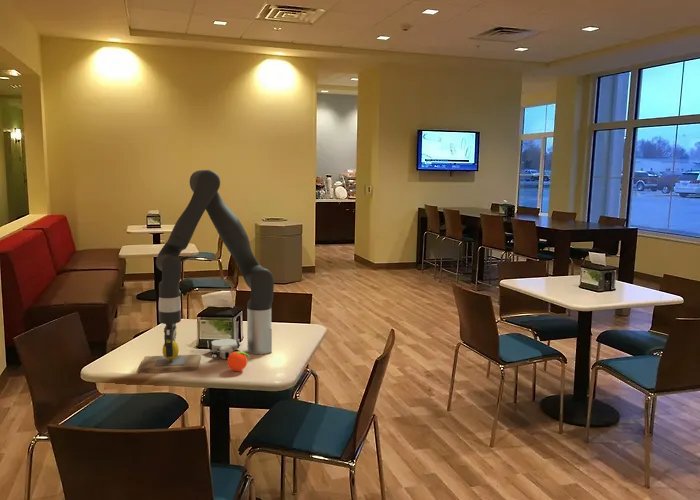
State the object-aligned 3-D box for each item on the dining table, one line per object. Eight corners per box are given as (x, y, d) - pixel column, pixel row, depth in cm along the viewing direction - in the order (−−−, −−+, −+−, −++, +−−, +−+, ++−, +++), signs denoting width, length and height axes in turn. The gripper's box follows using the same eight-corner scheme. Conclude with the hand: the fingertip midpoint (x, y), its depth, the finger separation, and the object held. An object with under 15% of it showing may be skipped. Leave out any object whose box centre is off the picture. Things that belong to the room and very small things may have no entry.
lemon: (174, 363, 211) (173, 341, 210) (159, 362, 212) (159, 340, 211) (181, 359, 216) (181, 337, 215) (167, 357, 217) (167, 336, 216)
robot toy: (244, 361, 223) (238, 347, 236) (244, 350, 222) (238, 336, 236) (210, 364, 219) (207, 349, 233) (210, 353, 218) (207, 338, 232)
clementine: (251, 367, 213) (251, 348, 212) (248, 374, 206) (248, 354, 206) (229, 367, 213) (229, 348, 212) (225, 373, 206) (225, 354, 205)
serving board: (200, 358, 223) (200, 353, 223) (198, 370, 209) (198, 365, 209) (144, 360, 219) (144, 355, 219) (138, 373, 205) (138, 368, 205)
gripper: (178, 313, 205) (179, 358, 207) (182, 304, 219) (183, 346, 221) (156, 314, 204) (157, 359, 206) (161, 304, 218) (162, 347, 220)
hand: (170, 352), depth 214 cm, fingers open, 8 cm apart
